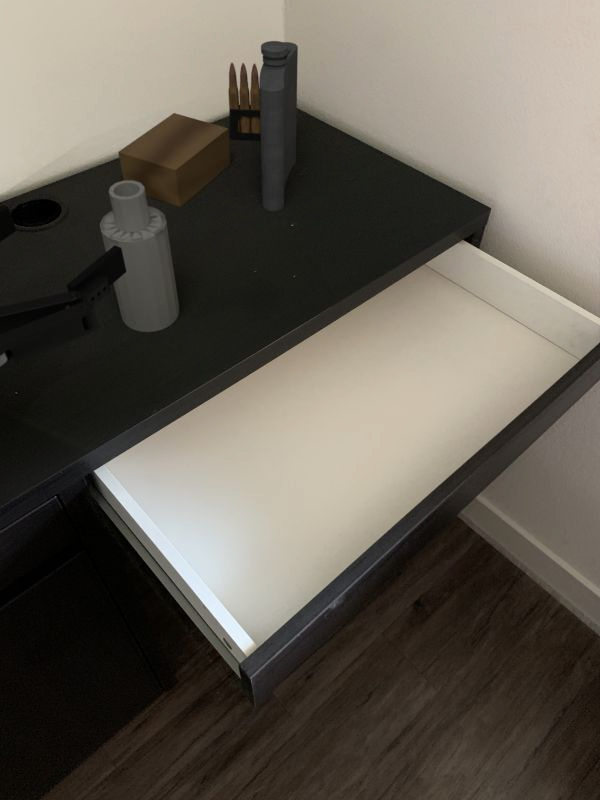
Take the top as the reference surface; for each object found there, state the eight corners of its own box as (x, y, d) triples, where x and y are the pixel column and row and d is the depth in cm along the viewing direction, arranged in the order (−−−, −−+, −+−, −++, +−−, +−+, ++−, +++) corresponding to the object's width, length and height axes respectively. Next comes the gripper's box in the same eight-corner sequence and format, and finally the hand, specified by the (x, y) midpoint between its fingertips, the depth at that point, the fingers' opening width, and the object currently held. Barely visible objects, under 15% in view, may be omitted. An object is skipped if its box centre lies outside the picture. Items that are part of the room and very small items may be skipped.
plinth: (125, 189, 100) (118, 151, 95) (178, 148, 108) (173, 112, 104) (180, 207, 97) (175, 169, 93) (230, 164, 105) (228, 128, 101)
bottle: (110, 320, 81) (77, 196, 68) (144, 288, 85) (120, 165, 72) (157, 339, 79) (133, 215, 66) (190, 305, 83) (173, 182, 70)
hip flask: (282, 212, 97) (282, 71, 82) (254, 210, 97) (250, 69, 82) (297, 157, 107) (299, 23, 92) (272, 155, 107) (270, 21, 92)
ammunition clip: (229, 139, 111) (225, 64, 102) (230, 133, 112) (226, 59, 103) (293, 142, 111) (294, 67, 101) (293, 136, 112) (295, 62, 103)
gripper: (-206, 358, 57) (-21, 233, 70) (13, 471, 50) (176, 309, 62) (-259, 289, 51) (-47, 167, 64) (-21, 405, 44) (166, 242, 57)
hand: (63, 237), depth 63 cm, fingers open, 13 cm apart
